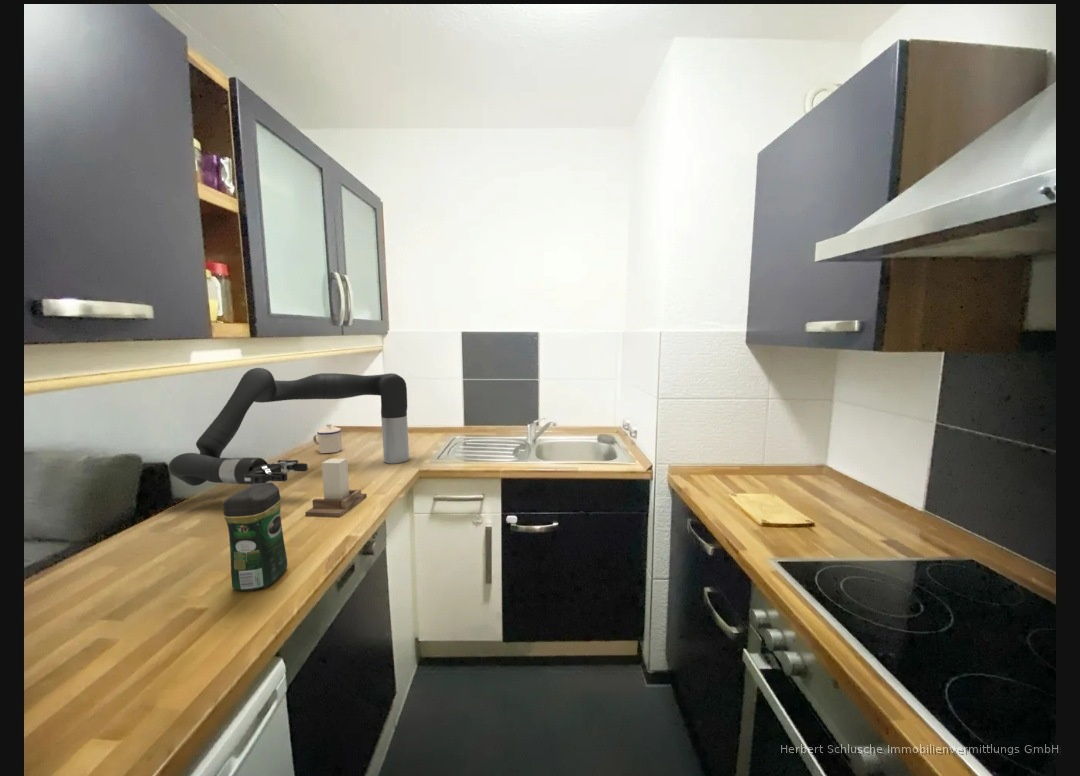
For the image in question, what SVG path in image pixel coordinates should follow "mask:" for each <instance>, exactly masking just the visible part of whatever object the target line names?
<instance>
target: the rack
mask: <svg viewBox="0 0 1080 776" xmlns="http://www.w3.org/2000/svg"><path fill="white" fill-rule="evenodd" d="M367 494H368V493H362V490H361V489H349V496H348V497H346V498H345V499H324V498H314V499H312V501H311V502H312V507H311V508H310V509H308V510H306V511H304V513H305V517H306V516H307V517H327V518H329V517H331V518H341V516H343V515H344V514H346V513H347V512H349V511H350V510H351V509H352V508H354V507H355V506H356V505H359V503H361V502H362V501H363V500H365V499H366V498H367V497H368V496H367Z"/></svg>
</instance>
